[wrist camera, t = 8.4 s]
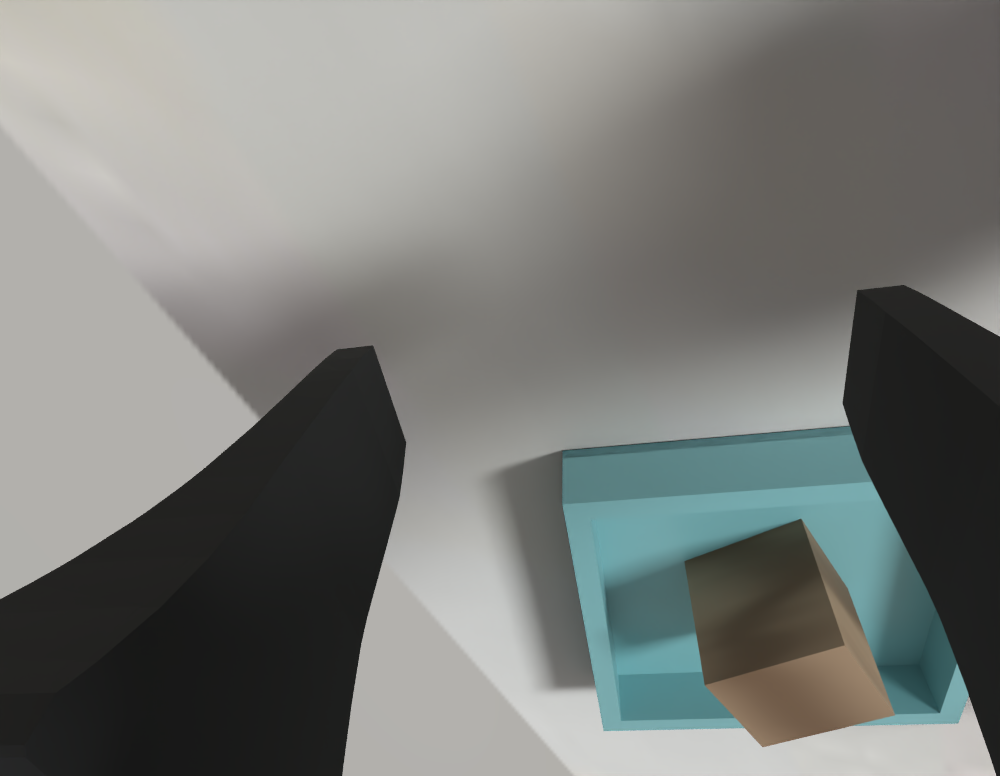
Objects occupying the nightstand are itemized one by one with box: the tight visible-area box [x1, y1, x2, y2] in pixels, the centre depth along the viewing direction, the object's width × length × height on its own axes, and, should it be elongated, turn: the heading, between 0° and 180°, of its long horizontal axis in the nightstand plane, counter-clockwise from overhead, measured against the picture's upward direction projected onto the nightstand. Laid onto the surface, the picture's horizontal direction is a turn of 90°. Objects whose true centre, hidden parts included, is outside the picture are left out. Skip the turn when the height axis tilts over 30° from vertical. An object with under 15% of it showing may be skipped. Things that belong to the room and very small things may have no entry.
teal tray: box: [562, 426, 969, 731], centre depth 27 cm, size 14×14×2 cm
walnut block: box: [684, 519, 895, 747], centre depth 25 cm, size 4×4×5 cm
